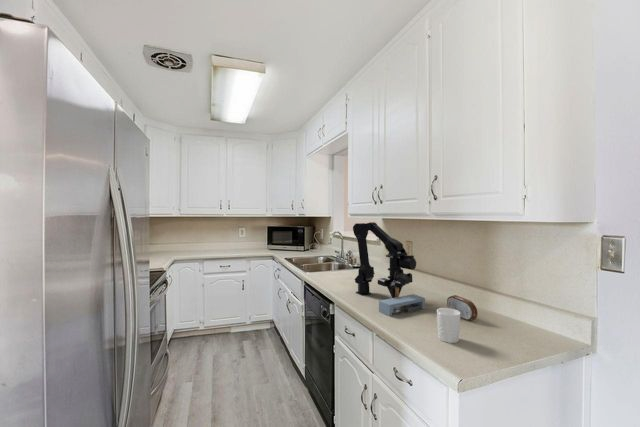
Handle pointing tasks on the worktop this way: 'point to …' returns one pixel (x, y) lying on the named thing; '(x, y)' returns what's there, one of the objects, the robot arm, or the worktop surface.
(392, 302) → the bench
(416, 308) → the hook tool
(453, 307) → the tin
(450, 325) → the white cup
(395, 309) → the puck
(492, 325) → the worktop surface
